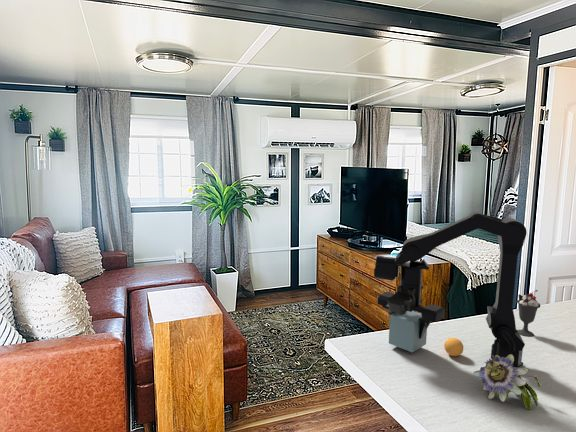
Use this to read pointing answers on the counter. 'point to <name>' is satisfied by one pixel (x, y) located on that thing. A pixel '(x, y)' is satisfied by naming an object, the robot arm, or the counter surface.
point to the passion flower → (506, 380)
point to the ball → (453, 346)
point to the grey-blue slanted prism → (406, 331)
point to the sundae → (527, 311)
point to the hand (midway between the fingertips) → (407, 333)
